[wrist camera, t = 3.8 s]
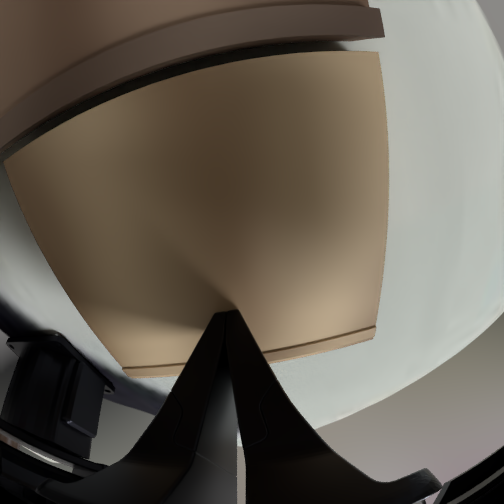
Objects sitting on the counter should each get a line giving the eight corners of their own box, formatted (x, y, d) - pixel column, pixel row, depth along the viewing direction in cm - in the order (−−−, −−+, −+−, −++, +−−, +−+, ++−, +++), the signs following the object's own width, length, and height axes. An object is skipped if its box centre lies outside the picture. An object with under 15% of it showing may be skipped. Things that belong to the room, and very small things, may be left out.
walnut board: (-35, 184, 7) (-62, 206, 5) (-62, 85, 3) (-90, 98, 2) (351, 41, 6) (384, 37, 4) (314, -90, 3) (334, -115, 1)
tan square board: (137, 354, 13) (131, 380, 11) (28, 148, 7) (1, 162, 5) (361, 314, 12) (373, 340, 11) (354, 55, 6) (379, 51, 5)
